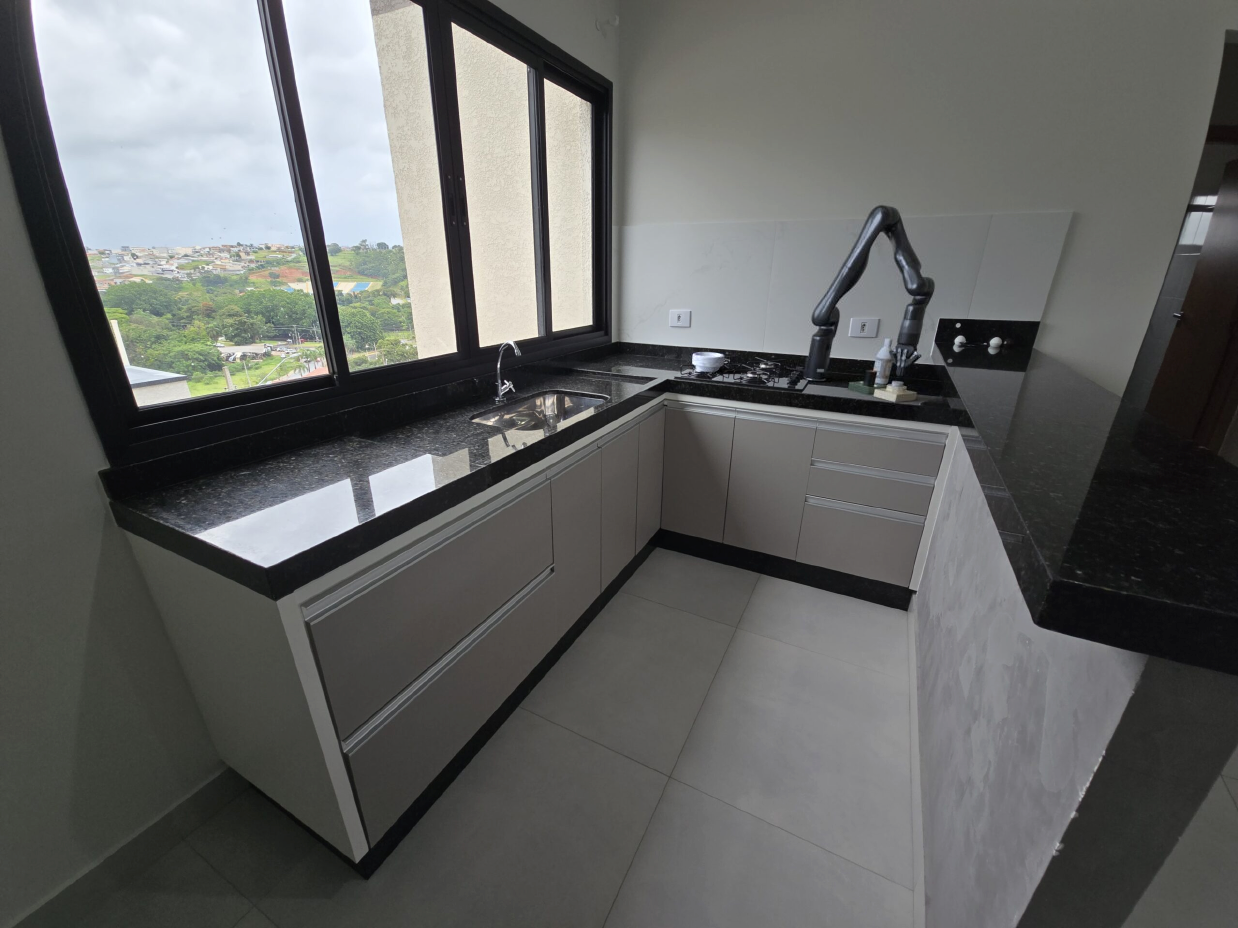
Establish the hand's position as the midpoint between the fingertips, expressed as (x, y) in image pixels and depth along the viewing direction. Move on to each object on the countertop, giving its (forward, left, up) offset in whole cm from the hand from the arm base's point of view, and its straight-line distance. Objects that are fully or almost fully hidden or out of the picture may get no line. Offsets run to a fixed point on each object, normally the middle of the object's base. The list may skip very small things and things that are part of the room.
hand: (899, 376), depth 202 cm
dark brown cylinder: (-13, 0, -6) cm, 14 cm away
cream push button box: (0, 0, -9) cm, 9 cm away
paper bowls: (-70, -43, -9) cm, 83 cm away
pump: (0, 0, -4) cm, 4 cm away
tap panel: (-13, 0, -9) cm, 16 cm away
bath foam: (-24, +21, -9) cm, 33 cm away
